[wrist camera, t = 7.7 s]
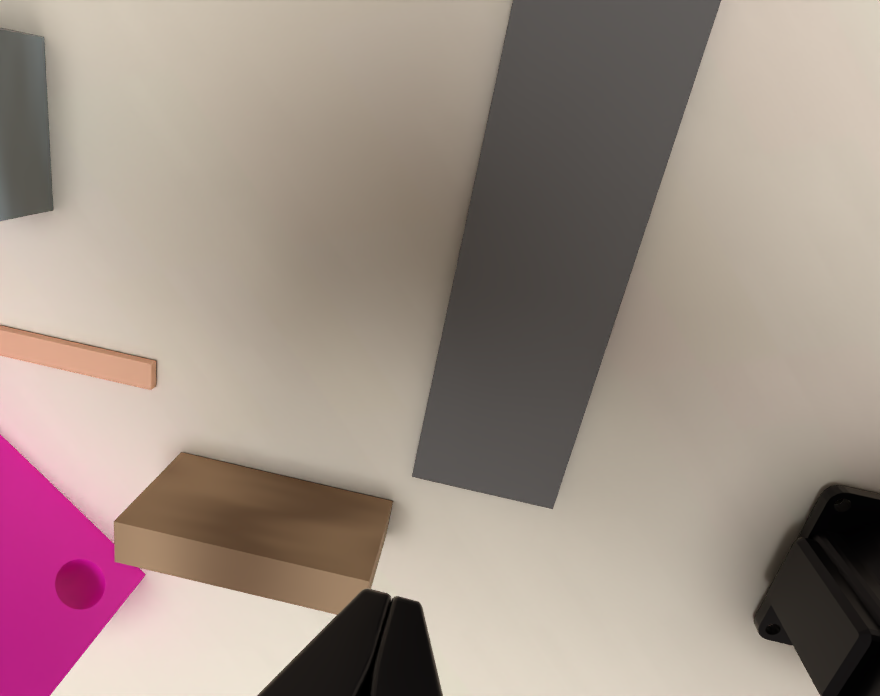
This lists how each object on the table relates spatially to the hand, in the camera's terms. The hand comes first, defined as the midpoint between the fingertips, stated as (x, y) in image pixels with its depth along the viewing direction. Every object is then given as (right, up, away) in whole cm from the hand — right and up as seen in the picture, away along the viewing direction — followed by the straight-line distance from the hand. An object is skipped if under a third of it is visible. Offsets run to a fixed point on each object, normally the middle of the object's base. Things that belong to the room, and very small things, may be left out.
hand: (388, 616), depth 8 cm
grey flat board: (+4, +7, +9) cm, 12 cm away
